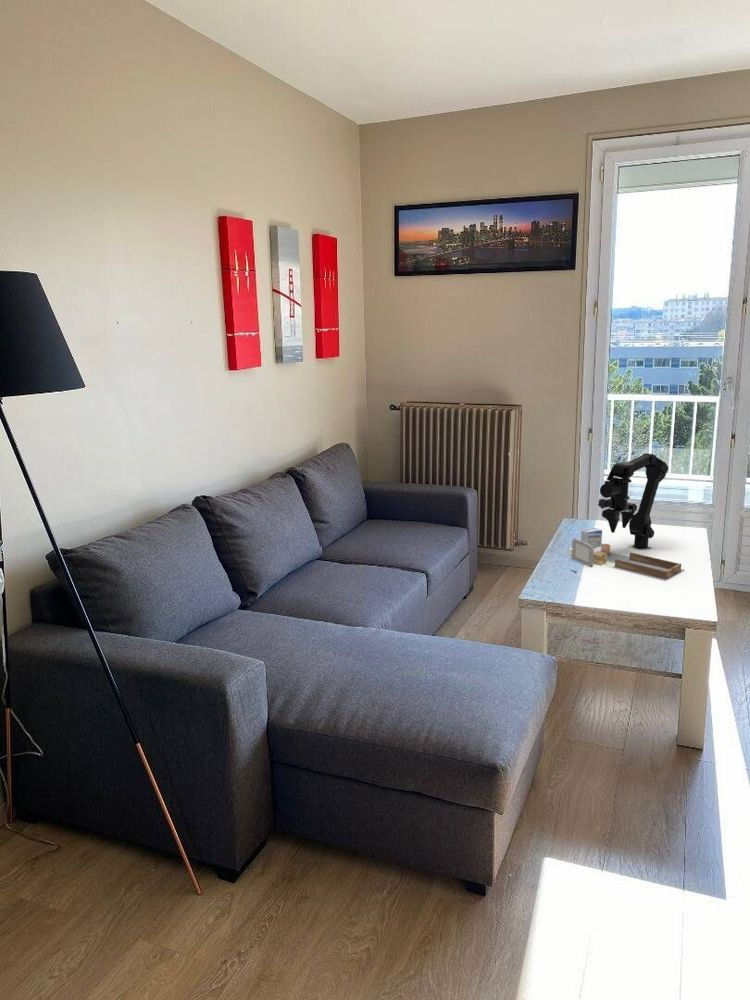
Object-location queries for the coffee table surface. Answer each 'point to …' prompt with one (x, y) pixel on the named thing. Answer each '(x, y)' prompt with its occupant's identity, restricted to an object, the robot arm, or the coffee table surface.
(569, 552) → the cream cube
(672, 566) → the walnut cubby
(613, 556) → the slate board
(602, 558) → the oak block
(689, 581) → the coffee table surface
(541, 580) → the coffee table surface
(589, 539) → the medicine box
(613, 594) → the coffee table surface
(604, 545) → the peach dome
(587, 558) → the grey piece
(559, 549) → the coffee table surface
